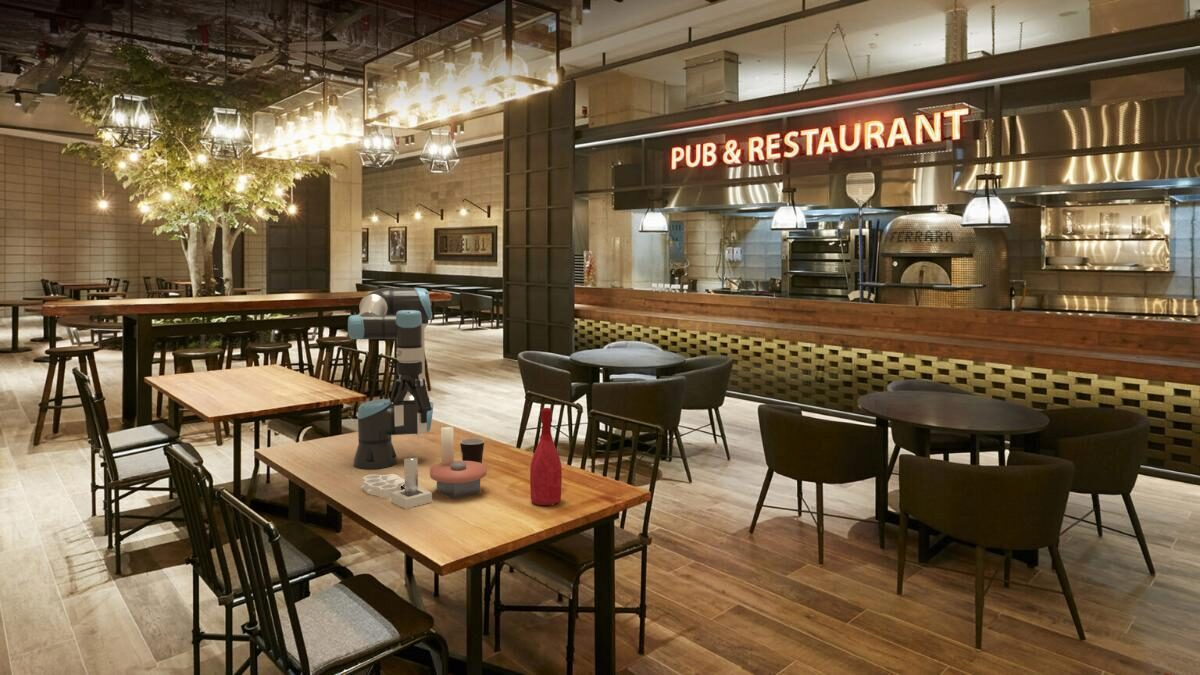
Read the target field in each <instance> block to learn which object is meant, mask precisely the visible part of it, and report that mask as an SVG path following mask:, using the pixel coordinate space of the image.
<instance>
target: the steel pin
mask: <svg viewBox="0 0 1200 675" xmlns="http://www.w3.org/2000/svg"><path fill="white" fill-rule="evenodd" d="M403 461H404V462H403V465H404V466H403V467H404V472H403V473H404V479H405V496H407V497H410V496H414V495H418V487H419V474H418V472H419V467H418V462H419V461H418V457H417V456H406V457H404V458H403Z"/></svg>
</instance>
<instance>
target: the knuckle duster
mask: <svg viewBox="0 0 1200 675" xmlns="http://www.w3.org/2000/svg"><path fill="white" fill-rule="evenodd" d="M361 481H362V485H361V486H359V488H358V489H361V490H364V492H365V491H366V492H365V493H367V494H368V495H369V494H370V496H373V495H377V496H376V497H379V498H380V499H391V498H390V497H391V492H395V491H399V490H402V489H403V488H401V486H402V485H403V486H404V487H405V478H403V477H400V475H398V474H395V473H390V474H389V473H388V474H367V475H364V476H363V477H362V480H361ZM400 488H401V489H400Z"/></svg>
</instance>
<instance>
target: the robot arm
mask: <svg viewBox="0 0 1200 675" xmlns="http://www.w3.org/2000/svg"><path fill="white" fill-rule="evenodd" d="M432 319H433V312H432V305H431V301H430V292H429V291H428V290H427V288H422V287H383V288H382V287H381V288H379V289H375V290H372V291H370V292H369V293H367V294H365V295H364V296H363V297H362V298H361V300H360V302H359V314H353V315H352V314H351V315H350V316H348V319H347V332H348V337H349V338H350V339H352V340H360V341H361V340H382V339H384V340H389V339H394V340H395V339H396V352H395V354H396V360H397V363H396V373H397V374H395V375H394V383H393V387H392V390H391V394H390V399H389V398H382V399H381V398H379V399H373V400H369V401H366V402H363V403H361V404H359V406H358V408H357V416H356V417H357V422H358V424H357V427H358V430H357V431H358V433H357V434H358V441H357V442H358V445H357V447H356V451H355V454H354V457H353V466H354V467H355V468H358V469H363V470H377V469H378V468H379V469H384V468H389V466H390V467H392V466H394V465H396V464H397V462H398V456H397V454H396V449H395V448H394V445H393V442H392V436H400V435H401V436H402V435H421V434H422V435H423V434H427V433H429V432H430V431H431V428H432V421H433V413H434V412H433V411H434V402H433V401H431V400H430V396H429V394H428V390H427V385H426V363H425V362H426V360H425V359H426V358H425V357H426V356H425V352H426V351H425V350H426V349H425V329H426V328H427V326H429V321H430V320H432ZM379 469H378V470H379Z"/></svg>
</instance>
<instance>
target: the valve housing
mask: <svg viewBox="0 0 1200 675" xmlns="http://www.w3.org/2000/svg"><path fill="white" fill-rule="evenodd" d="M436 493H438V494H439V495H440V494H441V495H442V494H443V495H442V496H445V497H448V498H450V499H452V500H458V499H463V498H465V497H469V496H473V495H476V494H477V495H478V494H481V479H479V480H476V481H471V482H465V483H444V482H439V481H436Z"/></svg>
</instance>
